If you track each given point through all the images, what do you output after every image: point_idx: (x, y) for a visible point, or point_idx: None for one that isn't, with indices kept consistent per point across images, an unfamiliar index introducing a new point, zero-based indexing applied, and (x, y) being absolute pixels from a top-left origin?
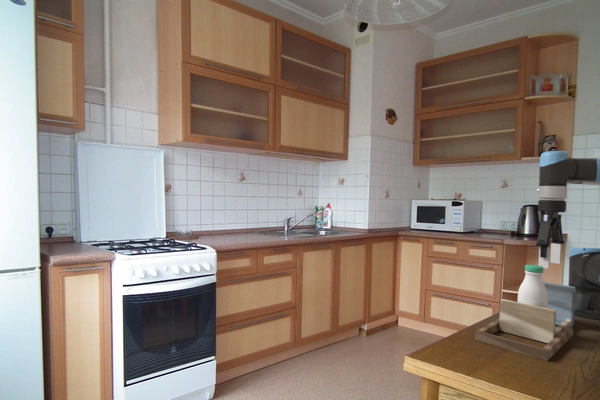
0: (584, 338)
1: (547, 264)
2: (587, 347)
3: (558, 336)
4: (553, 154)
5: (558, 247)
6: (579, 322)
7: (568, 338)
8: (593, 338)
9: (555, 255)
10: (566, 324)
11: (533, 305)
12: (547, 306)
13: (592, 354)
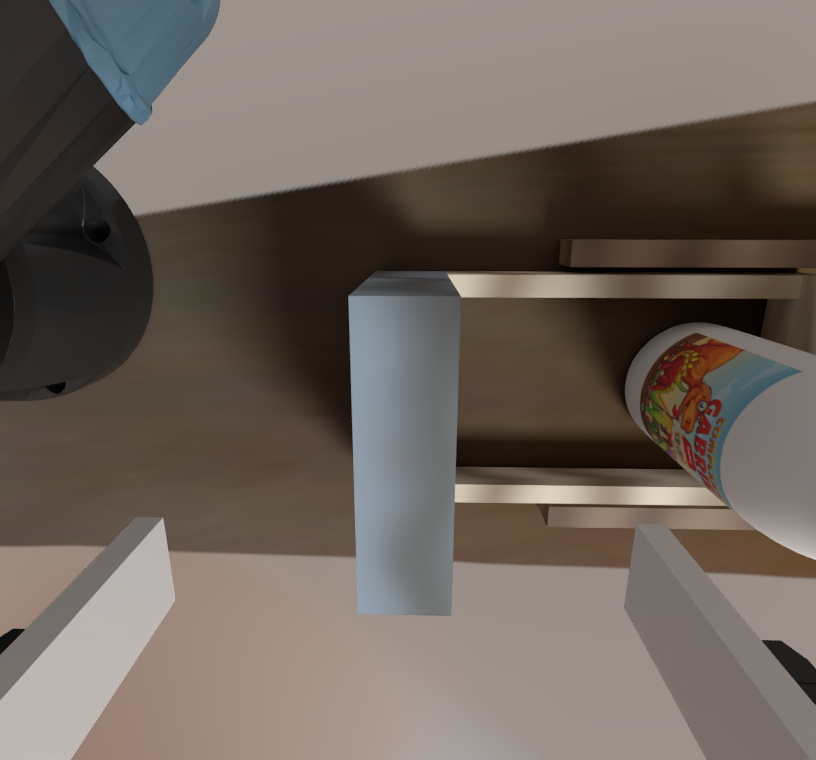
0: (563, 187)
1: (686, 561)
2: (708, 149)
3: (807, 258)
4: None
5: (18, 709)
6: (275, 263)
7: (656, 239)
8: (526, 154)
9: (114, 627)
10: (555, 274)
11: None
12: (807, 356)
13: (804, 111)
